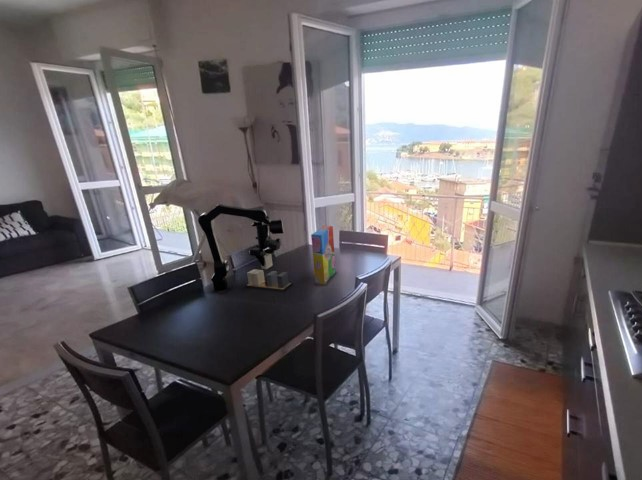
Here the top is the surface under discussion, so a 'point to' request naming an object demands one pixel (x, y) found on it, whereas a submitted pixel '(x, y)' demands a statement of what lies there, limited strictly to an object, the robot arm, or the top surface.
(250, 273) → the cream book
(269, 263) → the cream book
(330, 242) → the game box
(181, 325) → the top surface
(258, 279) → the cream book
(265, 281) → the book stand
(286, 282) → the grey book
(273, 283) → the grey book
